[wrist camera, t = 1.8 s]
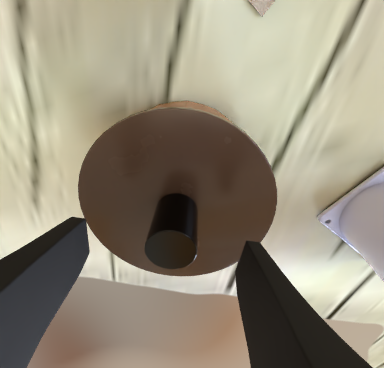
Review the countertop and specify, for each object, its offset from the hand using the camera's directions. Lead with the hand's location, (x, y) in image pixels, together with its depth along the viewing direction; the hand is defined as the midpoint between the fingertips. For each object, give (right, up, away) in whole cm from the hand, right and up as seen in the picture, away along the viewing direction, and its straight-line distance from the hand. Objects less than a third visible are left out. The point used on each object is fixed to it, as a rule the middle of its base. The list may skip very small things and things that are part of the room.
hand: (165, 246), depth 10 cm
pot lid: (0, +1, +4) cm, 4 cm away
